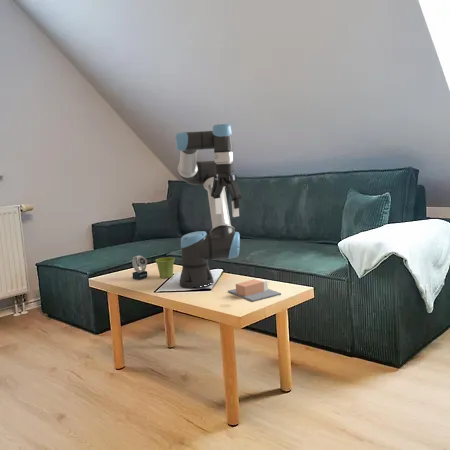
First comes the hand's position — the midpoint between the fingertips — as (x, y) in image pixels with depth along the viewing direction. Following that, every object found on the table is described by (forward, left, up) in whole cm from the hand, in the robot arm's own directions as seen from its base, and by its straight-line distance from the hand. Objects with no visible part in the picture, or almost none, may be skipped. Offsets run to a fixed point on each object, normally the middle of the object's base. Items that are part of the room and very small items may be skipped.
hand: (226, 215), depth 206 cm
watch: (-44, -32, -33) cm, 64 cm away
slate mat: (+6, +8, -33) cm, 34 cm away
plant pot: (-40, -20, -33) cm, 56 cm away
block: (+7, +2, -30) cm, 31 cm away
